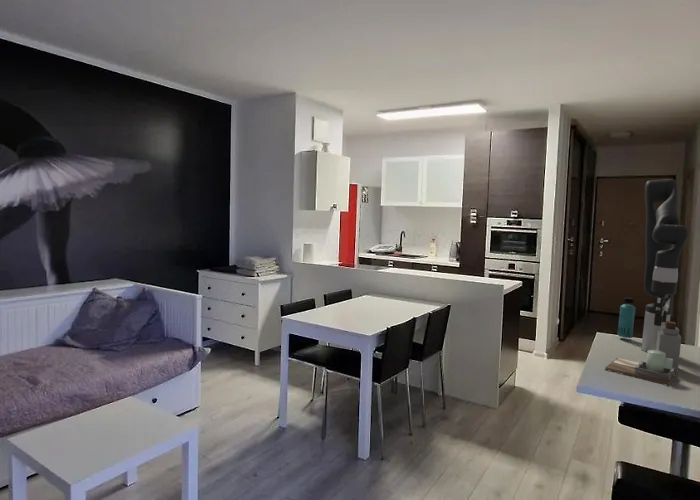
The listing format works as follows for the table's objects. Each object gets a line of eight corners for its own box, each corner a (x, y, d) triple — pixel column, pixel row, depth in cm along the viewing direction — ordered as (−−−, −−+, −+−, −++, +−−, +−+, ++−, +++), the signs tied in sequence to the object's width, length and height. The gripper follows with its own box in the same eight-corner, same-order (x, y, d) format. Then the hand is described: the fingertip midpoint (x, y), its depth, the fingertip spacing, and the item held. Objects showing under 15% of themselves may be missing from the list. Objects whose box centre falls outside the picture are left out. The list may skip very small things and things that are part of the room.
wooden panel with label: (617, 360, 191) (618, 352, 191) (676, 373, 177) (677, 366, 177) (605, 369, 178) (606, 361, 178) (668, 385, 165) (669, 376, 165)
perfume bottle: (674, 366, 186) (679, 321, 184) (677, 371, 180) (682, 325, 178) (654, 363, 189) (658, 319, 187) (656, 368, 183) (661, 322, 181)
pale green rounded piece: (647, 369, 178) (649, 348, 177) (672, 375, 172) (674, 354, 171) (643, 372, 174) (646, 351, 173) (669, 379, 168) (671, 357, 167)
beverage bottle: (628, 337, 227) (632, 296, 225) (635, 341, 220) (639, 299, 219) (614, 336, 228) (618, 296, 226) (620, 340, 221) (624, 298, 219)
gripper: (656, 276, 178) (652, 318, 180) (648, 279, 168) (643, 324, 169) (680, 279, 173) (675, 322, 175) (673, 283, 163) (668, 329, 164)
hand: (659, 323), depth 172 cm, fingers open, 8 cm apart
